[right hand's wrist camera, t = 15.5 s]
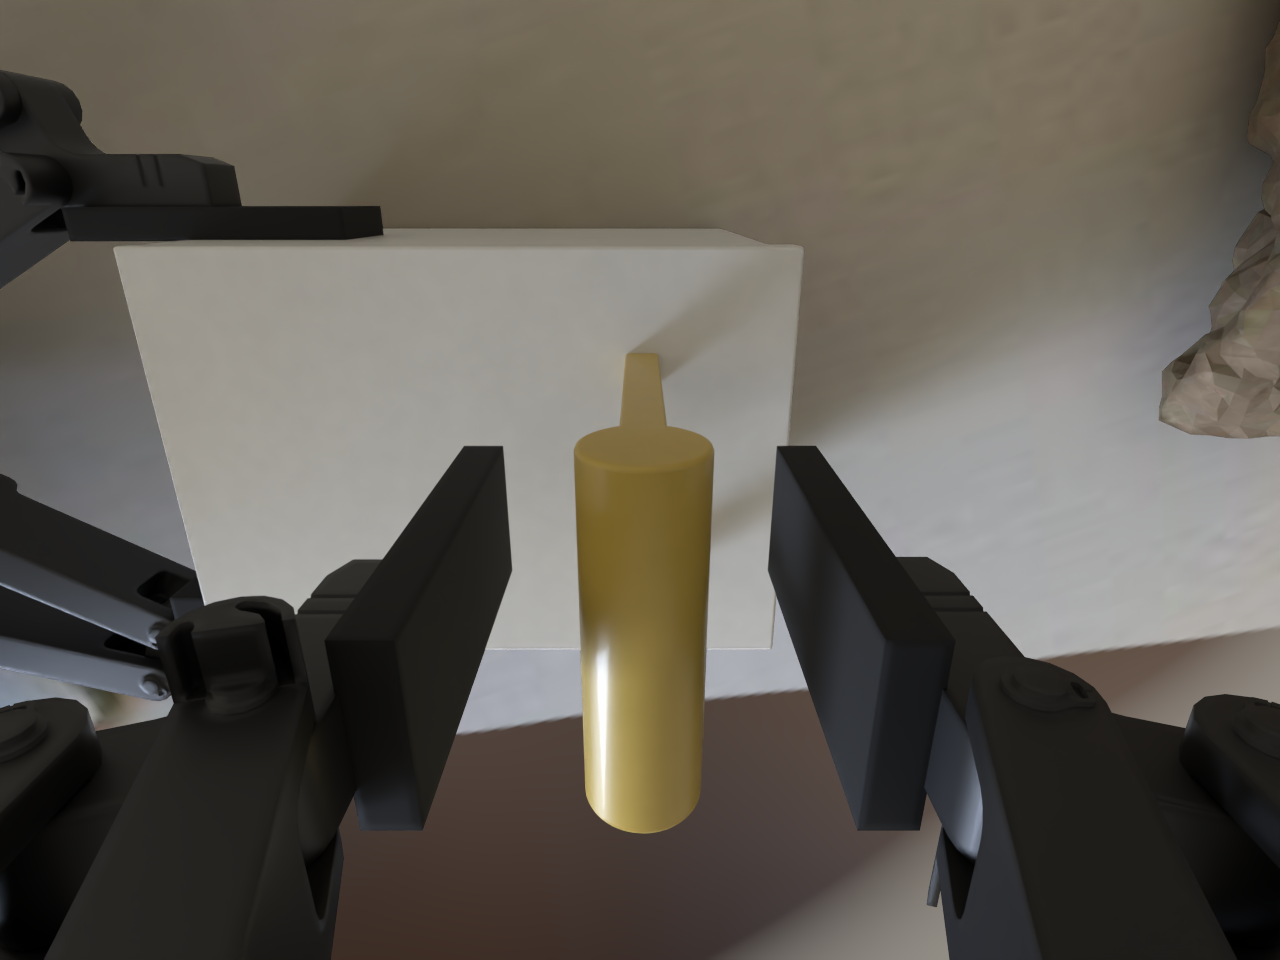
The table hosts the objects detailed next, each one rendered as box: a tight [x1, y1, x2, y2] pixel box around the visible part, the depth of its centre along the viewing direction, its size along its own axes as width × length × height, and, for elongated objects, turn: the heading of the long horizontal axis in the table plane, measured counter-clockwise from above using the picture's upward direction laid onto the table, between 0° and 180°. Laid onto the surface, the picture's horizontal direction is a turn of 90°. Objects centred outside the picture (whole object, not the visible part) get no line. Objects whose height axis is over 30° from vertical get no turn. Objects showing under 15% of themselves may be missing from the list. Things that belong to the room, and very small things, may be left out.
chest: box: [147, 228, 765, 244], centre depth 21 cm, size 14×10×9 cm
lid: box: [114, 244, 804, 833], centre depth 13 cm, size 14×10×8 cm
